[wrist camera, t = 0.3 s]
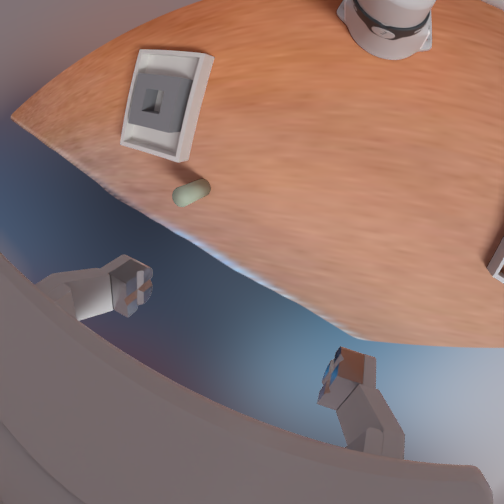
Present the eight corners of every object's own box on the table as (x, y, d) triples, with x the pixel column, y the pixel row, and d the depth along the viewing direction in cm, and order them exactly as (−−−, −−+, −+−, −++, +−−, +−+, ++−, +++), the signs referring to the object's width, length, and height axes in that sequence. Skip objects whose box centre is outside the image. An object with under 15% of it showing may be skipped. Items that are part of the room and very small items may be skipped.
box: (150, 51, 52) (135, 48, 47) (214, 57, 49) (201, 52, 44) (130, 142, 64) (115, 145, 59) (188, 160, 61) (174, 163, 56)
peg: (196, 176, 62) (174, 184, 54) (212, 182, 61) (190, 191, 53) (193, 192, 64) (170, 203, 56) (208, 198, 63) (187, 209, 55)
